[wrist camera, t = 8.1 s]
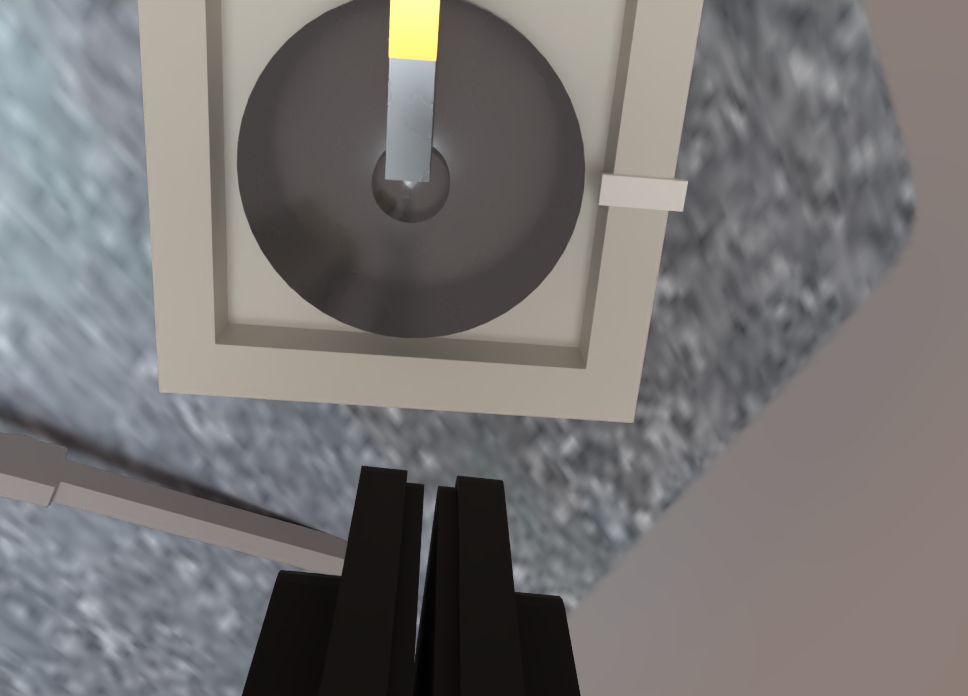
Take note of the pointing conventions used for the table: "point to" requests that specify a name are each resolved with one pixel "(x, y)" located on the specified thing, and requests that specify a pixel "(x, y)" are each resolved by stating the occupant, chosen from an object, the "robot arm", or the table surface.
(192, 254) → the tray
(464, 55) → the grey round piece
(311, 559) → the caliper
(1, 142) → the table surface
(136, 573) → the table surface
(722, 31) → the table surface
